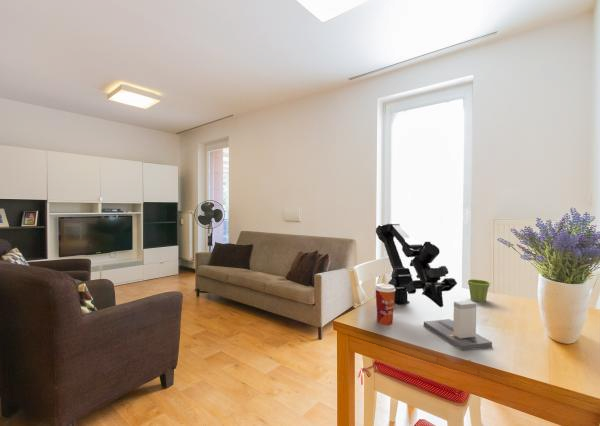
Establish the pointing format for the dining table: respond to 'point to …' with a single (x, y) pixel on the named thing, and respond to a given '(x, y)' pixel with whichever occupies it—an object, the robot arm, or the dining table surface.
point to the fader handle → (464, 319)
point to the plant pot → (478, 289)
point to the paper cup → (385, 303)
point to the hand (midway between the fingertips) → (441, 306)
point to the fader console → (446, 331)
